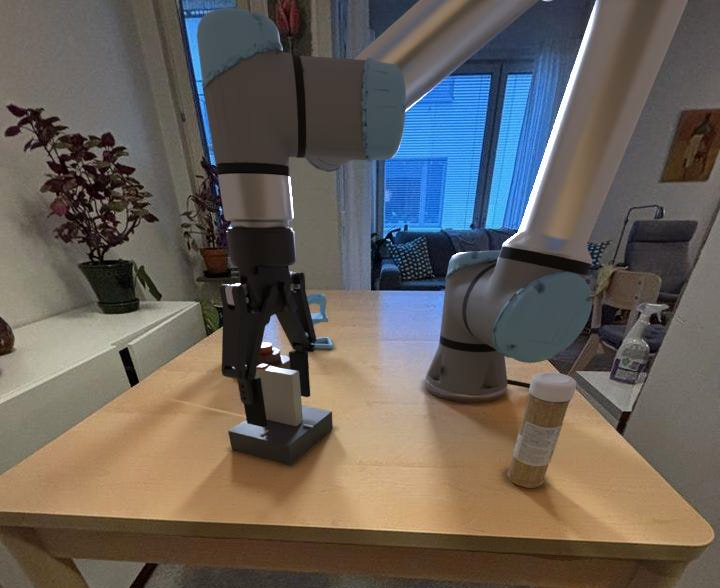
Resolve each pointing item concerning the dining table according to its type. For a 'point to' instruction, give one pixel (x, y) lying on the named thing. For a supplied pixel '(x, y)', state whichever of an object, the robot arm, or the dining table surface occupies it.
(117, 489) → the dining table surface
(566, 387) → the sprinkles bottle
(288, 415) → the handle
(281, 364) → the button block
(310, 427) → the panel
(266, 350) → the button
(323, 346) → the chair
